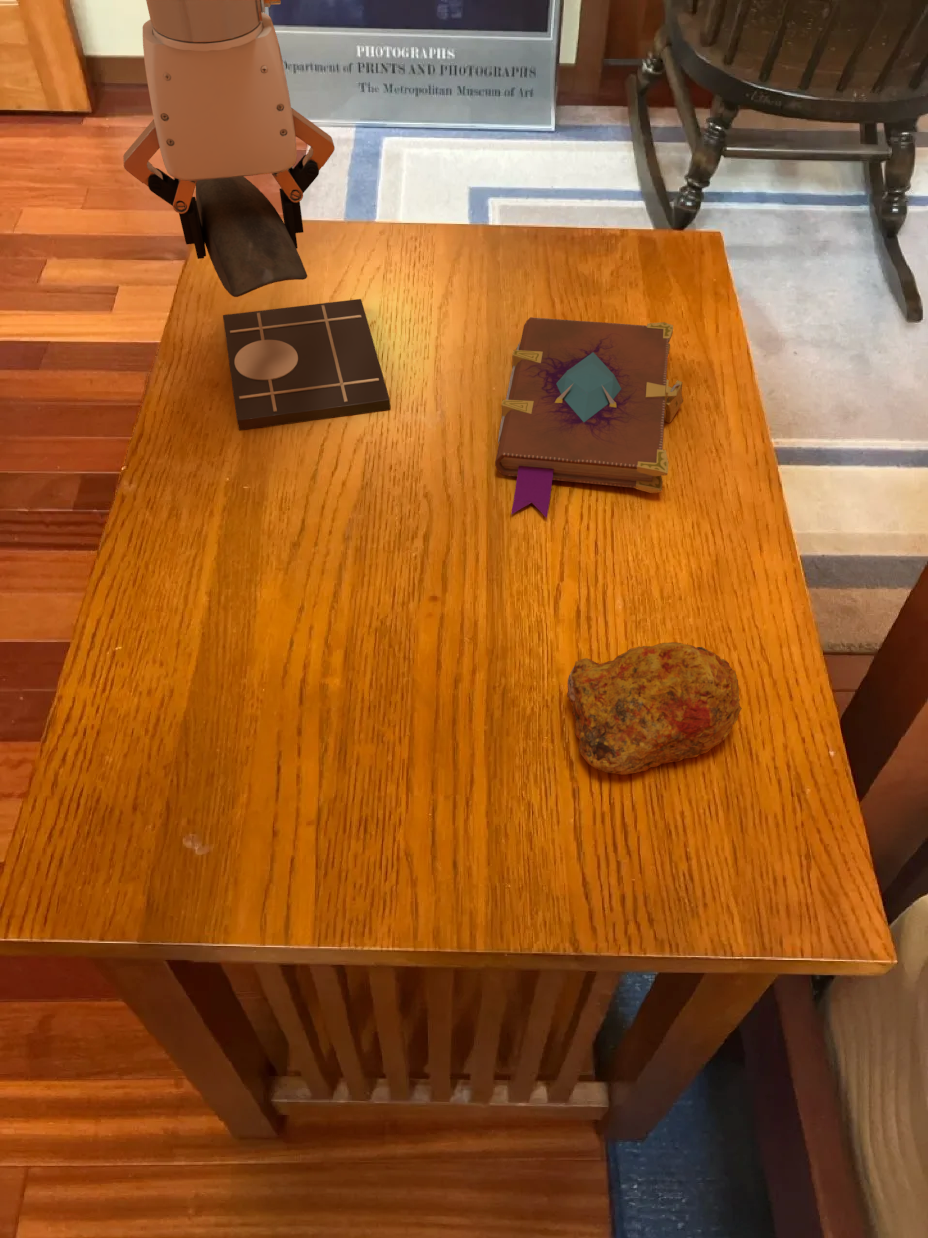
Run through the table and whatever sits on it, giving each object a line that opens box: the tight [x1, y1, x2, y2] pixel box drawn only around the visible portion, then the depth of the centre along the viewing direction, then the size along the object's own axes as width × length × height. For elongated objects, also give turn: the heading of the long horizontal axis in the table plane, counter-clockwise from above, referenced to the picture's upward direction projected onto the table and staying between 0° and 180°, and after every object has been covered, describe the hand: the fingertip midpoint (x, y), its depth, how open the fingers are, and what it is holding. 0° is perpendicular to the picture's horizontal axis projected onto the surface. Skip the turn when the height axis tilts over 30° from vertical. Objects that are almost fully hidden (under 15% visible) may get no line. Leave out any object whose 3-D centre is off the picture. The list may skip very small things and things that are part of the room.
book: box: [494, 317, 684, 519], centre depth 84 cm, size 16×25×5 cm, turn 171°
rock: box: [566, 641, 742, 775], centre depth 65 cm, size 11×8×10 cm
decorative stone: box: [195, 176, 308, 298], centre depth 77 cm, size 17×6×4 cm, turn 25°
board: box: [222, 298, 391, 431], centre depth 90 cm, size 14×16×1 cm
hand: (246, 243), depth 78 cm, fingers closed on decorative stone, 6 cm apart
